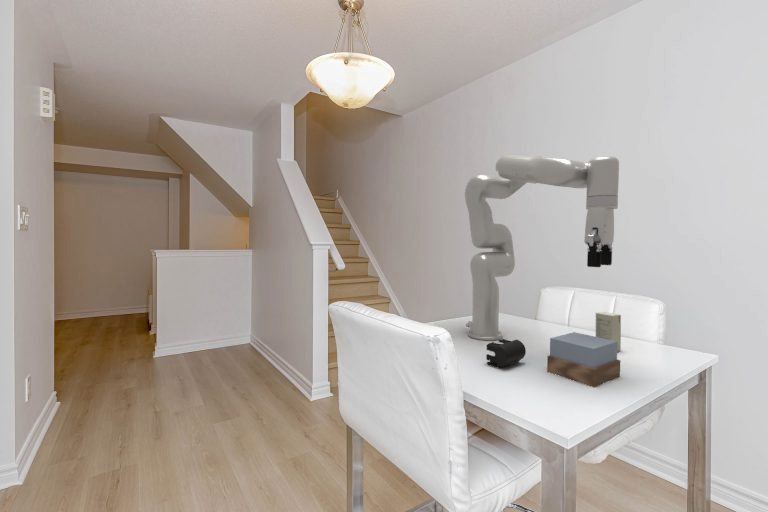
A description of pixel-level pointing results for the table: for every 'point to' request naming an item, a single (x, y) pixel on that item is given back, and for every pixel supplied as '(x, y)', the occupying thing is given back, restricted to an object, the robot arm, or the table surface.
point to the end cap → (505, 353)
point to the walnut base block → (584, 371)
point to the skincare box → (609, 327)
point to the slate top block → (583, 349)
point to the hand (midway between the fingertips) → (599, 265)
